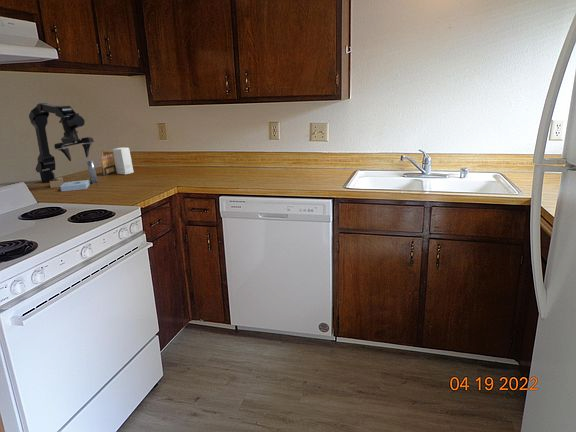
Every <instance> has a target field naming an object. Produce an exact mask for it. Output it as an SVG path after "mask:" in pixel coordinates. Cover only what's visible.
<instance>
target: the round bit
mask: <svg viewBox="0 0 576 432" xmlns="http://www.w3.org/2000/svg"><path fill="white" fill-rule="evenodd" d="M86 164H87V171H88V176H89V183H90V184H92V185H95V184H98V182H99V181H98V177H97V172H96V163H95V160H94V159H91V160H90V159H88V160H86Z"/></svg>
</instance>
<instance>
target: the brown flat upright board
mask: <svg viewBox="0 0 576 432" xmlns="http://www.w3.org/2000/svg"><path fill="white" fill-rule="evenodd" d="M100 159H101V171H102V176H103V177H107V176H110V175H113V173H114V174H117V169H116V164H115V159H114V155H113V153H109V154H107V155H106V154H105V155H102V156H101V158H100Z"/></svg>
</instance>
